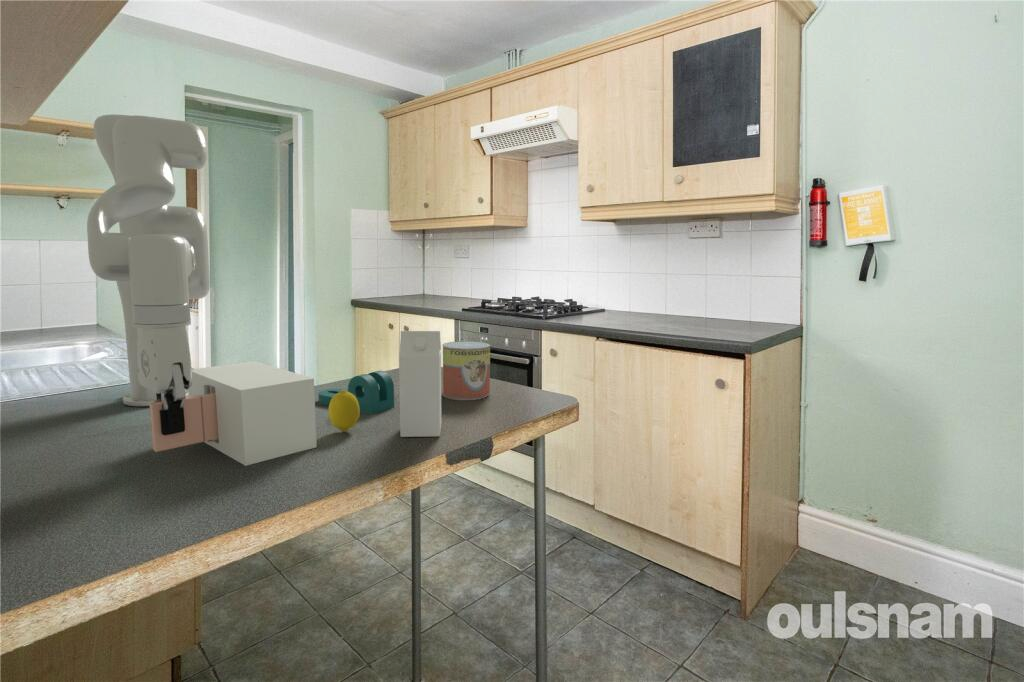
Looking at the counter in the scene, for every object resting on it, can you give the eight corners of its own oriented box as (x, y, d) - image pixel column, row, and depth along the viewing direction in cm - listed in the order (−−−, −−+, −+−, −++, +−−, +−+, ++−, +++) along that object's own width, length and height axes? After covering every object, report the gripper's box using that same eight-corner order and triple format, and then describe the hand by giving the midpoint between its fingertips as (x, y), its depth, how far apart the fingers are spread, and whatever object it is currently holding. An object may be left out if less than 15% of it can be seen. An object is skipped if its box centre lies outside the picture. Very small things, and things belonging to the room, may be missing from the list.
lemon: (332, 438, 101) (330, 394, 100) (326, 429, 106) (325, 388, 105) (363, 434, 104) (362, 391, 103) (356, 426, 109) (355, 385, 108)
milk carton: (404, 426, 109) (402, 328, 106) (441, 425, 110) (440, 328, 107) (400, 437, 102) (398, 333, 99) (439, 437, 103) (439, 333, 100)
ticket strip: (156, 452, 88) (152, 404, 86) (153, 450, 88) (149, 403, 87) (270, 427, 101) (268, 385, 100) (266, 425, 102) (264, 384, 101)
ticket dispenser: (240, 467, 87) (235, 391, 85) (187, 436, 102) (182, 370, 100) (316, 447, 97) (313, 378, 95) (258, 421, 111) (254, 361, 109)
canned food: (454, 402, 127) (454, 349, 126) (435, 391, 137) (435, 342, 135) (498, 396, 133) (499, 346, 131) (477, 387, 143) (477, 340, 141)
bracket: (394, 407, 123) (393, 372, 122) (372, 415, 117) (371, 377, 116) (335, 396, 132) (334, 363, 131) (312, 403, 126) (310, 368, 125)
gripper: (118, 313, 89) (128, 426, 92) (151, 322, 79) (161, 449, 82) (171, 310, 95) (179, 417, 97) (208, 318, 84) (216, 437, 87)
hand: (171, 431), depth 89 cm, fingers closed
